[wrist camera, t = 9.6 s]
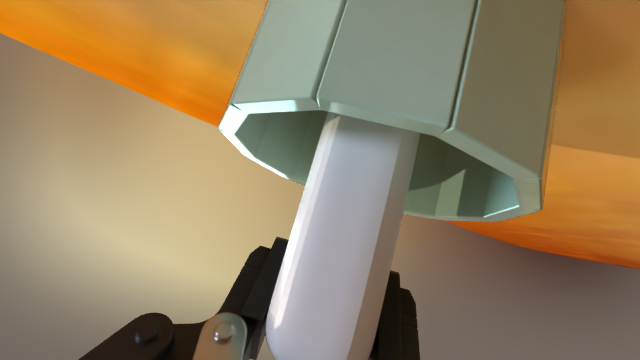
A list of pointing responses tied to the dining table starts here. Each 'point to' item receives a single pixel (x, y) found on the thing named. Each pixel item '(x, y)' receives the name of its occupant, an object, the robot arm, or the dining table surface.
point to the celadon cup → (411, 93)
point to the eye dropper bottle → (342, 242)
